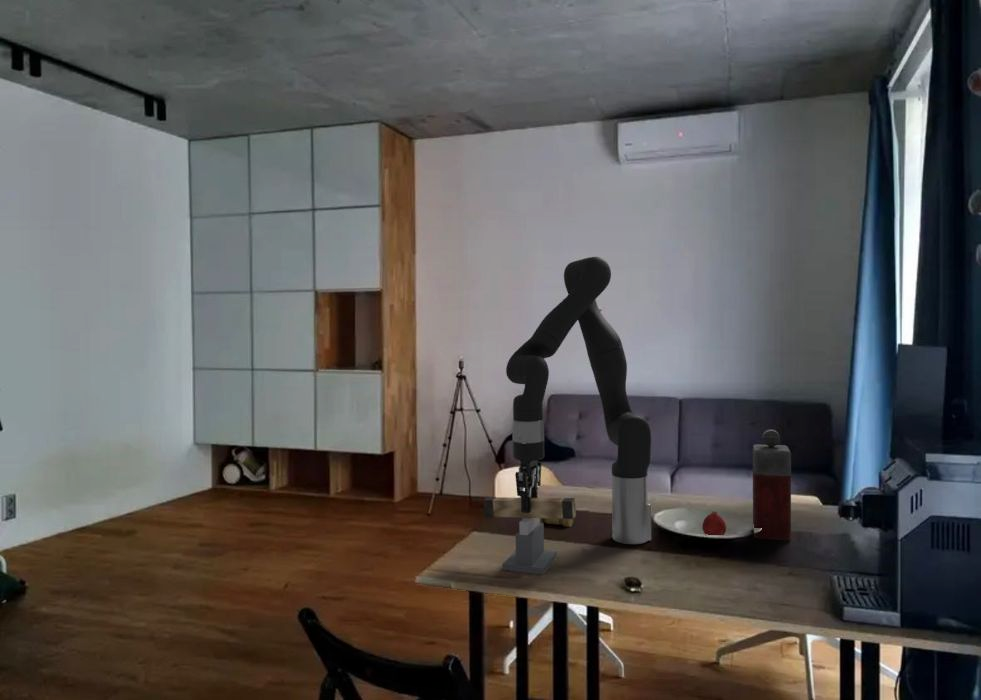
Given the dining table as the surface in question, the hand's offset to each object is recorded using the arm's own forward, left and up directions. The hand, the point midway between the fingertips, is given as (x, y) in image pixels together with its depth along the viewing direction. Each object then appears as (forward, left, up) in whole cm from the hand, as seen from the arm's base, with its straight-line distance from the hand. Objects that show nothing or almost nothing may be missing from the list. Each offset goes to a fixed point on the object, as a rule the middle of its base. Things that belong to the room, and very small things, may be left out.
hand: (529, 508), depth 164 cm
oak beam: (0, 0, -2) cm, 2 cm away
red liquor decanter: (-69, -2, -13) cm, 70 cm away
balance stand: (0, 0, -13) cm, 13 cm away
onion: (-51, -1, -13) cm, 53 cm away
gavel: (-22, -35, -14) cm, 43 cm away
